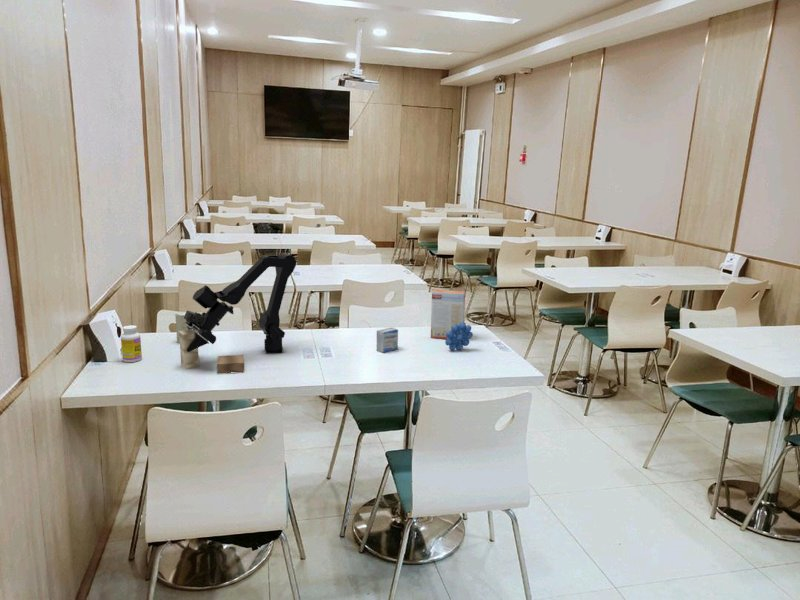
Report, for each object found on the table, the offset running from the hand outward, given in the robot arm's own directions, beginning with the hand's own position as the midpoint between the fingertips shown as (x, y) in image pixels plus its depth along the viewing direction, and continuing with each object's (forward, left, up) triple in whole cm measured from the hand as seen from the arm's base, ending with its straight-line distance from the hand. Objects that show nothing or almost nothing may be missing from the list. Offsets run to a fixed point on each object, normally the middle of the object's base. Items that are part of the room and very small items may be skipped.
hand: (185, 349), depth 213 cm
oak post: (-1, -1, -7) cm, 7 cm away
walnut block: (-16, +4, -7) cm, 18 cm away
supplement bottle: (+21, -10, -7) cm, 24 cm away
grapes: (-105, -8, -7) cm, 106 cm away
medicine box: (-76, -11, -7) cm, 77 cm away
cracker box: (-105, -25, -7) cm, 108 cm away
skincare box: (+5, -31, -7) cm, 32 cm away
